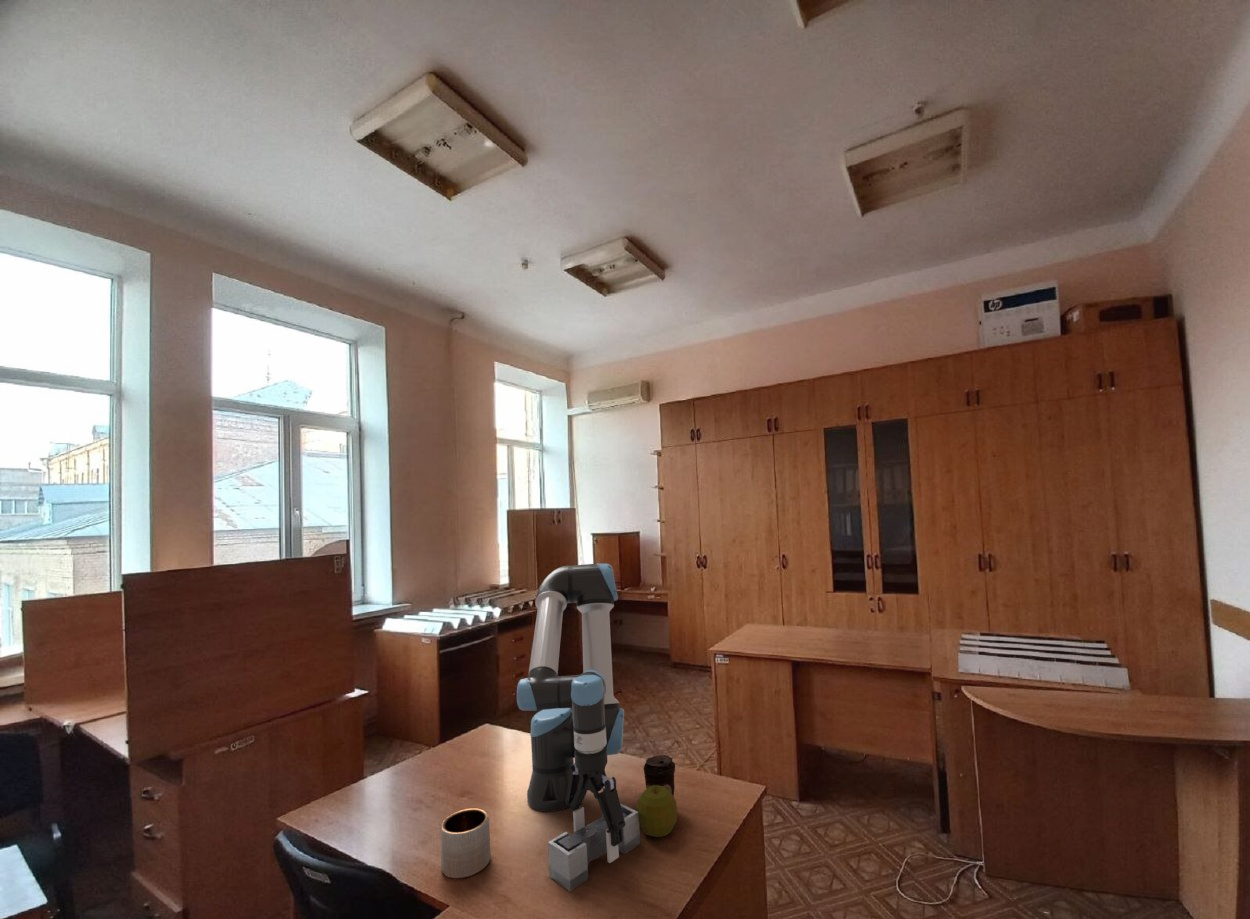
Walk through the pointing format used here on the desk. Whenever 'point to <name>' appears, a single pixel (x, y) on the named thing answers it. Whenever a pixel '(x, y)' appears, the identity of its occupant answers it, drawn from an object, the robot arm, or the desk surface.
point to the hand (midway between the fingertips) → (596, 849)
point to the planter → (465, 842)
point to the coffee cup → (660, 772)
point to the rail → (589, 838)
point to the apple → (657, 811)
